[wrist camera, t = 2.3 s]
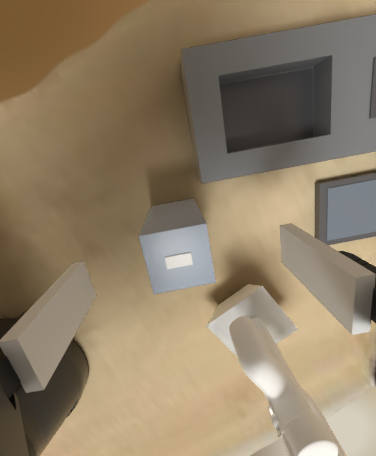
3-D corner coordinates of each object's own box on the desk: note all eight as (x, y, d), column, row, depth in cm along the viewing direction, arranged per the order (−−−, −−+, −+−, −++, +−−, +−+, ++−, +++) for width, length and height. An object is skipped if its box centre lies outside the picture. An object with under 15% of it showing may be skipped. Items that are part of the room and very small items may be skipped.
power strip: (198, 179, 23) (203, 184, 19) (180, 64, 20) (181, 45, 16) (488, 126, 23) (543, 121, 20) (515, 3, 20) (586, -28, 17)
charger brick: (160, 246, 25) (153, 295, 16) (150, 206, 23) (138, 236, 15) (200, 238, 25) (215, 283, 16) (193, 198, 23) (206, 223, 15)
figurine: (245, 262, 26) (334, 392, 12) (287, 313, 29) (401, 470, 14) (196, 298, 27) (223, 457, 13) (240, 344, 30) (304, 519, 15)
